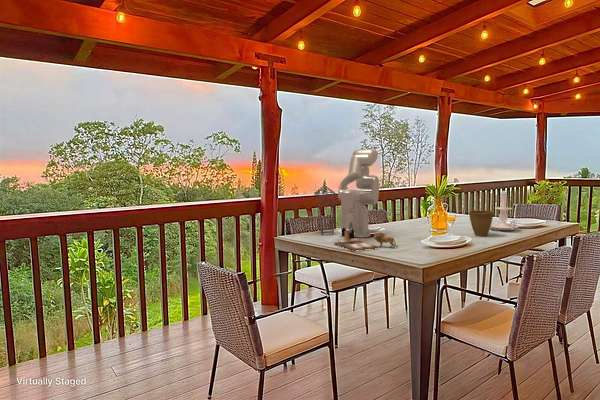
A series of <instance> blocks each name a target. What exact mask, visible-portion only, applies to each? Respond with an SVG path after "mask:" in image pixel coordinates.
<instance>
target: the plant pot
mask: <svg viewBox="0 0 600 400" xmlns="http://www.w3.org/2000/svg"><path fill="white" fill-rule="evenodd" d="M468 215H469V221H470V224H471V228H472V231H473V233H474V235H475V237H488V234H489V232H490V229H491V224H492V223H493V218H494V211H492V210H470V211H468Z"/></svg>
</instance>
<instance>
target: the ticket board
mask: <svg viewBox="0 0 600 400" xmlns="http://www.w3.org/2000/svg"><path fill="white" fill-rule="evenodd" d="M357 240H358V241H352V242H344V243H341V242H338V241H335V242H334V245H335V244H336V245H335V246H337V245H339V246H338V247H340V246H341V247H340V248H342V247H344V248H343V249H345V248H347V249H350V250H353V251H356V250H365V249H374V250H376V249H375V248H378V249H379V247H378V246H377V245H374V244H371V243H368V242H365V241H362V240H360V239H357ZM347 249H346V250H347ZM350 250H349V251H350ZM353 251H352V252H353Z"/></svg>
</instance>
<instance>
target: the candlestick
mask: <svg viewBox="0 0 600 400" xmlns="http://www.w3.org/2000/svg"><path fill="white" fill-rule="evenodd" d="M507 194H508V192H507V190H503V191H500V206H497V207H494V209H496V210H499V211H500V213H499V214H498V218H499V220H500V221H501V222H497V223H495V222H494V223H493V222H492V223H491V227H490V229H493V230H496V231H508V232H509V231H513V230H516V229H518V228H520V225H519V224H516V222H517V220H511V221H510V223H507V222H506V221H507V220H508V217H509V215H508V213H507V211H509V210H512V209H513V207H508V206H507V202H508V201H507V199H508V198H507V196H508V195H507Z"/></svg>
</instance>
